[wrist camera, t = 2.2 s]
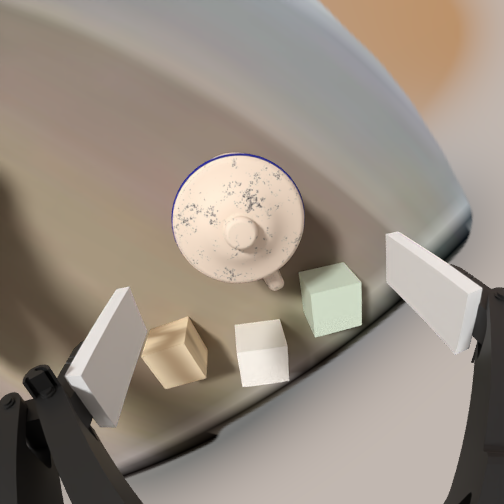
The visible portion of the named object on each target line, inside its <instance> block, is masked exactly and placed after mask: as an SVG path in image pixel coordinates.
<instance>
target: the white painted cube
mask: <svg viewBox="0 0 504 504" xmlns="http://www.w3.org/2000/svg"><path fill="white" fill-rule="evenodd" d="M235 335H236V348H237V357H238V363H239V368H240V374H241V380H242V386H243V387H248V386H256V385H264V384H271V383H278V382H284V381H289V367H288V345H287V342H286V339H285V335H284V332H283V329H282V325H281V322H280V319H277V320H269V321H262V322H255V323H247V324H239V325H235Z"/></svg>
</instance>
